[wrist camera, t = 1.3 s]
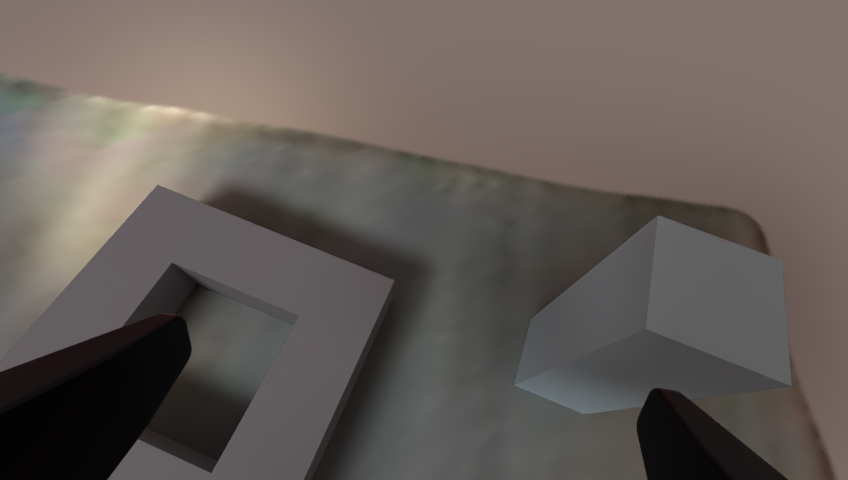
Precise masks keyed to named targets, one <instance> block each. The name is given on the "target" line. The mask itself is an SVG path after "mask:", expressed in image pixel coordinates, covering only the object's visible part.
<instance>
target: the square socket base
mask: <svg viewBox="0 0 848 480" xmlns="http://www.w3.org/2000/svg"><path fill="white" fill-rule="evenodd" d="M394 282H395V280H393V279H390V278H388V277H385V276H383V275H380V274H378V273H375V272H373V271H370V270H368V269H365V268H363V267H360V266H358V265H356V264H353V263H351V262H348V261H346V260H343V259H341V258H338V257H336V256H333V255H331V254H328V253H326V252H323V251H321V250H318V249H316V248H313V247H311V246H308V245H306V244H303V243H301V242H298V241H296V240H293V239H291V238H288V237H286V236H283V235H281V234H278V233H276V232H273V231H271V230H269V229H266V228H264V227H261V226H259V225H256V224H254V223H251V222H249V221H246V220H244V219H241V218H239V217H236V216H234V215H231V214H229V213H226V212H224V211H221V210H219V209H216V208H214V207H211V206H209V205H206V204H204V203H201V202H199V201H196V200H194V199H191V198H189V197H186V196H184V195H182V194H179V193H177V192H174V191H172V190H169V189H167V188H164V187H162V186H159V185H157V186H156V187H155V188H154V190H153V191H152V192H151V193H150V194H149V195H148V196H147V197H146V199H145V200H144V201H143V202H142V203H141V204H140V205H139V206H138V207H137V209H136V210H135V211H134V212H133V213H132V214H131V215H130V216H129V218H128V219H127V220H126V221H125V222H124V223H123V224H122V225H121V227H120V228H119V229H118V230H117V231H116V232H115V233H114V234H113V235H112V237H111V238H110V239H109V240H108V241H107V242H106V243H105V244H104V246H103V247H102V248H101V249H100V250H99V251H98V252H97V253H96V255H95V256H94V257H93V258H92V259H91V260H90V261H89V262H88V263H87V265H86V266H85V267H84V268H83V269H82V270H81V271H80V272H79V274H78V275H77V276H76V277H75V278H74V279H73V280H72V281H71V282H70V284H69V285H68V286H67V287H66V288H65V289H64V290H63V291H62V293H61V294H60V295H59V296H58V297H57V298H56V299H55V300H54V302H53V303H52V304H51V305H50V306H49V307H48V308H47V309H46V310H45V312H44V313H43V314H42V315H41V316H40V317H39V318H38V319H37V321H36V322H35V323H34V324H33V325H32V326H31V327H30V328H29V330H28V331H27V332H26V333H25V334H24V335H23V336H22V337H21V338H20V340H19V341H18V342H17V343H16V344H15V345H14V346H13V347H12V349H11V350H10V351H9V352H8V353H7V354H6V355H5V356H4V357H3V359H2V360H1V361H0V372H1V371H4V370H7V369H9V368H12V367H15V366H18V365H20V364H23V363H26V362H28V361H31V360H34V359H36V358H39V357H42V356H45V355H47V354H50V353H53V352H55V351H58V350H61V349H64V348H66V347H69V346H72V345H74V344H77V343H80V342H83V341H85V340H88V339H91V338H93V337H96V336H99V335H102V334H104V333H107V332H110V331H112V330H115V329H118V328H121V327H123V326H126V325H129V324H131V323H134V322H137V321H139V320H142V319H145V318H148V317H150V316H153V315H156V314H159V313H170V314H176V312H177V311H178V309H179V308H180V307H181V305H182V304H183V302H184V301H185V300H186V298H187V297H188V296H189V294H190V293H191V291H192V290H193V289H194V287H195V286H196V284H198V285H201V286H203V287H205V288H208V289H210V290H212V291H215V292H217V293H219V294H222V295H224V296H227V297H229V298H231V299H234V300H236V301H238V302H241V303H243V304H246V305H248V306H250V307H253V308H255V309H257V310H260V311H262V312H265V313H267V314H269V315H272V316H274V317H276V318H279V319H281V320H284V321H286V322H288V323H291V324H293V325H294V326H293V328H292V330H291V332H290V333H289V335H288V337H287V339H286V340H285V342H284V344H283V346H282V348H281V349H280V351H279V353H278V355H277V357H276V358H275V360H274V362H273V364H272V366H271V367H270V369H269V371H268V373H267V375H266V376H265V378H264V380H263V382H262V383H261V385H260V387H259V389H258V391H257V392H256V394H255V396H254V398H253V400H252V401H251V403H250V405H249V407H248V409H247V410H246V412H245V414H244V416H243V417H242V419H241V421H240V423H239V425H238V426H237V428H236V430H235V432H234V434H233V435H232V437H231V439H230V441H229V443H228V444H227V446H226V448H225V450H224V452H223V453H222V455H221V457H220V459H219V460H218V461H217V460H215V459H213V458H211V457H209V456H207V455H204V454H202V453H200V452H198V451H196V450H194V449H191V448H189V447H187V446H185V445H183V444H181V443H178V442H176V441H174V440H172V439H170V438H167V437H165V436H163V435H161V434H159V433H157V432H154V431H152V430H150V429H148V428H146V429H145V430H144V432H143V433H142V434H141V436H140V437H139V438H138V440H137V441H136V443H135V444H134V445H133V447H132V448H131V449H130V451H129V452H128V453H127V455H126V456H125V457H124V459H123V460H122V461H121V462H120V464H119V465H118V466H117V468H116V469H115V470H114V472H113V473H112V474H111V476H110V477H109V478H108V480H312V479H313V477H314V474H315V472H316V470H317V468H318V466H319V463H320V461H321V459H322V457H323V454H324V452H325V450H326V448H327V445H328V443H329V441H330V439H331V436H332V434H333V432H334V430H335V427H336V425H337V423H338V421H339V419H340V416H341V414H342V412H343V410H344V407H345V405H346V403H347V401H348V398H349V396H350V394H351V392H352V389H353V387H354V385H355V383H356V380H357V378H358V376H359V374H360V372H361V369H362V367H363V365H364V363H365V360H366V358H367V356H368V354H369V351H370V349H371V347H372V345H373V342H374V340H375V338H376V336H377V333H378V331H379V329H380V327H381V325H382V322H383V320H384V318H385V316H386V313H387V311H388V309H389V307H390V304H391V302H392V300H393V293H394Z"/></svg>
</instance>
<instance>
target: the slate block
mask: <svg viewBox="0 0 848 480" xmlns="http://www.w3.org/2000/svg"><path fill="white" fill-rule="evenodd" d="M514 386H517V387H519V388H522V389H524V390H527V391H529V392H531V393H534V394H536V395H539V396H541V397H543V398H546V399H548V400H551V401H553V402H555V403H558V404H560V405H563V406H565V407H568V408H570V409H572V410H575V411H577V412H580V413H582V414H591V413H599V412H606V411H613V410H621V409H628V408H635V407H643V405H644V403H645V401H646V399H647V396H648V394H649V392H650V391H651V390H652V389H653V388H663V389H670V390H675V391H678V392H680V393H682V394H683V395H684V396H685V397H687V398H688V399H689V400H694V399H701V398H708V397H716V396H723V395H730V394H738V393H745V392H752V391H760V390H767V389H774V388H782V387H789V386H792V383H791V370H790V356H789V342H788V329H787V315H786V301H785V288H784V275H783V261H782V260H779V259H777V258H774V257H771V256H768V255H766V254H763V253H760V252H757V251H755V250H752V249H749V248H747V247H744V246H741V245H738V244H736V243H733V242H730V241H727V240H725V239H722V238H719V237H717V236H714V235H711V234H708V233H706V232H703V231H700V230H697V229H695V228H692V227H689V226H686V225H684V224H681V223H678V222H676V221H673V220H670V219H667V218H665V217H662V216H659V215H658V216H656V217H655V218H654V219H653V220H651V221H650V222H649V223H648V224H646V225H645V226H644V227H643V228H642V229H640V230H639V231H638V232H637V233H635V234H634V235H633V236H632V237H631V238H629V239H628V240H627V241H626V242H624V243H623V244H622V245H621V246H619V247H618V248H617V249H616V250H615V251H613V252H612V253H611V254H610V255H608V256H607V257H606V258H605V259H604V260H602V261H601V262H600V263H599V264H597V265H596V266H595V267H594V268H593V269H591V270H590V271H589V272H588V273H586V274H585V275H584V276H583V277H581V278H580V279H579V280H578V281H577V282H575V283H574V284H573V285H572V286H570V287H569V288H568V289H567V290H566V291H564V292H563V293H562V294H561V295H559V296H558V297H557V298H556V299H555V300H553V301H552V302H551V303H550V304H548V305H547V306H546V307H545V308H543V309H542V310H541V311H540V312H539V313H537V314H536V315H535V316H534V317H532V318H531V320H530V324H529V328H528V332H527V336H526V340H525V343H524V347H523V351H522V355H521V359H520V363H519V367H518V371H517V375H516V378H515V382H514Z"/></svg>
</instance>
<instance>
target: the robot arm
mask: <svg viewBox="0 0 848 480" xmlns="http://www.w3.org/2000/svg"><path fill="white" fill-rule="evenodd" d="M191 350H192V347H191V342H190V337H189V333H188V328H187V324H186V320H185V319H184V318H183V316H181V315H176V314H170V313H159V314H156V315H153V316H150V317H148V318H145V319H142V320H139V321H137V322H134V323H131V324H129V325H126V326H123V327H121V328H118V329H115V330H112V331H110V332H107V333H104V334H102V335H99V336H96V337H93V338H91V339H88V340H85V341H83V342H80V343H77V344H74V345H72V346H69V347H66V348H64V349H61V350H58V351H55V352H53V353H50V354H47V355H45V356H42V357H39V358H36V359H34V360H31V361H28V362H26V363H23V364H20V365H18V366H15V367H12V368H9V369H7V370H4V371H1V372H0V480H108V478H109V477H110V476H111V474H112V473H113V472H114V470H115V469H116V468H117V466H118V465H119V464H120V462H121V461H122V460H123V459H124V457H125V456H126V455H127V453H128V452H129V451H130V449H131V448H132V447H133V445H134V444H135V443H136V441H137V440H138V438H139V437H140V436H141V434H142V433H143V432H144V430H145V429H146V427H147V425H148V424H149V422H150V421H151V419H152V418H153V416H154V415H155V413H156V412H157V410H158V408H159V407H160V405H161V404H162V402H163V400H164V399H165V397H166V396H167V394H168V392H169V391H170V389H171V388H172V386H173V384H174V383H175V381H176V379H177V378H178V376H179V375H180V373H181V371H182V370H183V368H184V367H185V365H186V363H187V362H188V360H189V358H190V355H191ZM637 434H638V438H639V443H640V447H641V452H642V456H643V461H644V465H645V470H646V474H647V479H648V480H788V479H787V478H785V477H784V476H783V475H782V474H781V473H779V472H778V471H777V470H776V469H774V468H773V467H772V466H771V465H769V464H768V463H767V462H766V461H764V460H763V459H762V458H761V457H760V456H758V455H757V454H756V453H755V452H753V451H752V450H751V449H750V448H748V447H747V446H746V445H745V444H743V443H742V442H741V441H740V440H739V439H737V438H736V437H735V436H734V435H732V434H731V433H730V432H729V431H727V430H726V429H725V428H724V427H722V426H721V425H720V424H719V423H718V422H716V421H715V420H714V419H713V418H711V417H710V416H709V415H708V414H706V413H705V412H704V411H703V410H701V409H700V408H699V407H698V406H697V405H695V404H694V403H693V402H692V401H690V400H689V399H688V398H687V397H685V396H684V395H683V394H682V393H680V392H678V391H675V390H670V389H663V388H653V389H652V390H651V391H650V392H649V394H648V396H647V399H646V401H645V403H644V405H643V408H642V410H641V412H640V415H639V417H638V420H637Z"/></svg>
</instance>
